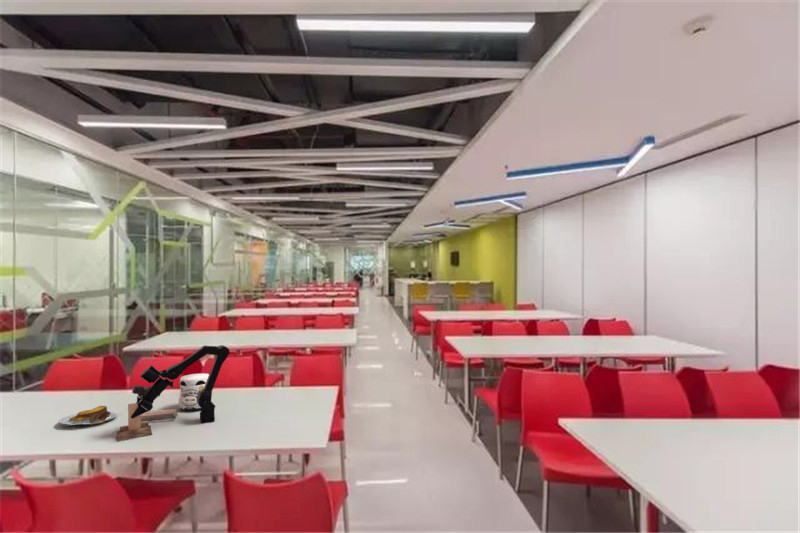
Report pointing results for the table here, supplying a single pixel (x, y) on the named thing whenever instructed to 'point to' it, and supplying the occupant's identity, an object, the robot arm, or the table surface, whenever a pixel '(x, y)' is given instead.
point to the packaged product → (159, 416)
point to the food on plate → (88, 416)
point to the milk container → (191, 390)
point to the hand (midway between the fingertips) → (131, 415)
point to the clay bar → (134, 422)
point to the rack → (134, 432)
